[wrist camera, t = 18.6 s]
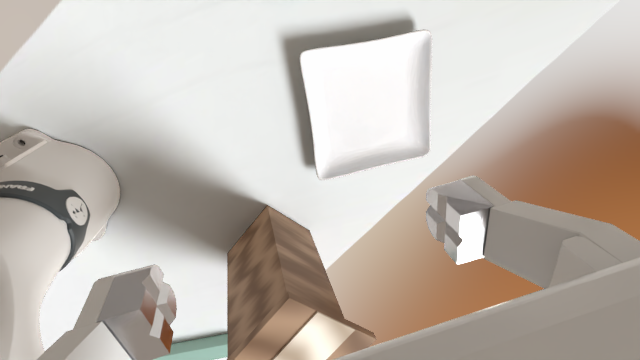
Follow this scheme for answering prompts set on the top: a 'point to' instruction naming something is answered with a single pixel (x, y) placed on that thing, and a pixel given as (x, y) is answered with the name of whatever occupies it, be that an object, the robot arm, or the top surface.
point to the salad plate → (369, 102)
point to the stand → (284, 297)
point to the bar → (199, 349)
